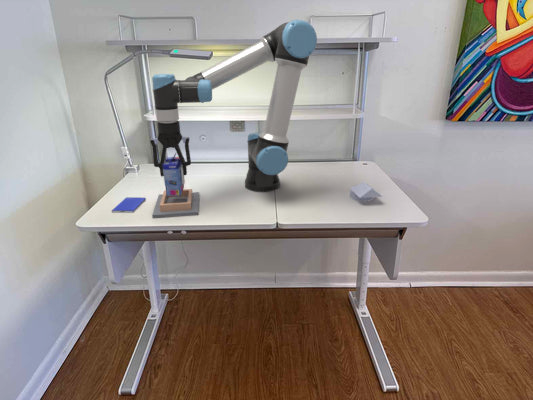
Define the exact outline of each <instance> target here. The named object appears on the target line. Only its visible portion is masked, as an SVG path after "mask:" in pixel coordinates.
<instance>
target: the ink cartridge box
mask: <svg viewBox="0 0 533 400" xmlns="http://www.w3.org/2000/svg"><path fill="white" fill-rule="evenodd" d="M176 155H177V152H175V154H174V155H173V156H171V157H168V156H167V158H165V160H164V163H163V172H164V176H163V181H164V180H165V182H164V187H165V188H164V189H165V191H166V196H181V193H182V191H183V189H185V184H184V185H182V177H181V166H182V164H181V161H180V159H179V156H176Z"/></svg>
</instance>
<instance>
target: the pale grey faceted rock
mask: <svg viewBox="0 0 533 400" xmlns="http://www.w3.org/2000/svg"><path fill="white" fill-rule="evenodd" d="M349 192H350V193H349V198H350V199H352V200H354V201H358V202H368V201H372V200H373V199H374V198H378V197H382V195H381V194H380V193H379V192H378V191H377V190H376V189H374V188H373V187H372V186H370V185H369V184H368V183H366V182H365V181H361V182H359V184H357V185H352V186H351V187H350V190H349Z"/></svg>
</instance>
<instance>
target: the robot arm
mask: <svg viewBox="0 0 533 400" xmlns="http://www.w3.org/2000/svg"><path fill="white" fill-rule="evenodd" d="M317 43H318V37H317V32H316V30H315V27H313V25H312V24H310V22H308V21H306V20H302V19H301V20H300V19H294V20H291V21H289V22H284V23H282V24H280V25H278V27H276V28H274V29H273V30H272V31H270V32H269V33H267V34H265V35H263V36H262V37H260V40H259V41H258V42H256V43H254V44H252V45H250V46H249V47H246V48H244V49H242V50H240V51H238V52H236V53H235V54H233V55H231V56H228V57H227V58H225V59H223V60H221V61H219V62H217V63H215V64H213V65H210V66H209V67H208V68H206V69H203V70H202V71H200V72H198V73H196V74H194V75H191V76H189V77H187V78H185V79H183V80H180V79H176V76H175V74H173V73H157V74H154V75H153V76H152V77H151V79H152V93H153V98H154V107H155V117H156V121H157V123H156V125H157V133H158V135H157V137H156V138H151V139H150V145H151V146H152V156H153V166H154V167H155V168H159V172H160V177H164V172H163V163H164V162H165V161H166V153H167V150H168V149H170V148H171V149H172V148H173V149H175V153H176V155H177V157H179V159H180V161H181V164H182V166H181V177H182V185H184V186H185V184H186V182H185V181H186V179H185V176H187V175H188V171H187V169H188V168H187V167H188V166H191V164H192V162H191V161H192V160H191V153H190V145H189V143H190V137H189V136H183V135H182V133H181V127H180V126H181V125H180V121H179V119H180V116H179V115H180V114H179V106H178V104H187V103H188V104H189V103H190V104H191V103H193V104H194V103H196V104H197V103H202V104H204V103H210V102H211V101H213V90H215V89H217V88H219V87H221V86H222V85H224V84H226V83H228V82H230V81H232V80H235V79H236V78H238V77H240V76H242V75H244V74H246V73H248V72H251V70H253V69H256V68H258V67H260V66H262V65H264V64H265V63H267V62H270V63H273V62H276V63H277V68H276V71H275V76H274V81H273V86H272V90H271V97H270V100H269V105H268V108H267V109H268V110H267V115H266V121H265V124H264V128H263V131H262V132H252V133H249V134H248V135H247V141H246V142H247V154H248V155H247V156H248V159H247V160H248V170H247V173H246V177H245V179H244V186H245V189H247V190H250V191H254V192H269V191H270V192H271V191H275V190H277V189H279V188H280V186H281V182H280V181H281V180H280V177H279V174H280V173H281V172H284V170H286V168H287V166H288V163H289V156H288V152H287V151H288V147H289V142H290V141H289V139H288V138H287V134H288V129H289V125H290V121H291V116H292V112H293V108H294V104H295V100H296V95H297V90H298V86H299V84H300V83H299V82H300V78H301V73H302V71H303V70H304V69H305V68H307V66H308V63H309V58H310V56H311V55H312V54H313V52H314V51H315V49H316V47H317ZM181 141H182V143H183V144H184V150H185V156H186V157H184V155H183V153H182V150H181V147H180V145H179V144H180V143H181ZM159 143H160V144H161V145H162V151H161V157H160V161H159V156H158V155H159V154H158V144H159ZM185 158H186V159H185ZM163 181H164V182H163V183H165V180H164V179H163Z"/></svg>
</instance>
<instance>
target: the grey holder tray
mask: <svg viewBox="0 0 533 400" xmlns="http://www.w3.org/2000/svg"><path fill="white" fill-rule="evenodd" d="M199 208H200V192H199V191H193V188H184V189H183V191H182V193H181V196H166V190H163V193H162V194H158V197H157V199H156V202H155V206H154V209H153V212H152V214H151V215H152V216H151V217H152V219H161V218H173V217H188V216H189V217H190V216H199V213H200V209H199Z"/></svg>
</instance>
